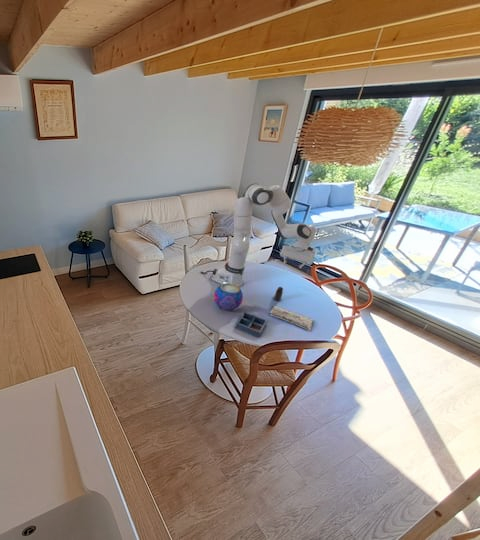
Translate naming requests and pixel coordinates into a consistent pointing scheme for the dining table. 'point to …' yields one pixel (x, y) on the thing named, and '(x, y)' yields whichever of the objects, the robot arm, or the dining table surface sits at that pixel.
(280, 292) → the dark brown cylinder
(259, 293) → the dining table surface
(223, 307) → the ceramic pot
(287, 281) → the dining table surface
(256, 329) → the grid
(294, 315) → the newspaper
